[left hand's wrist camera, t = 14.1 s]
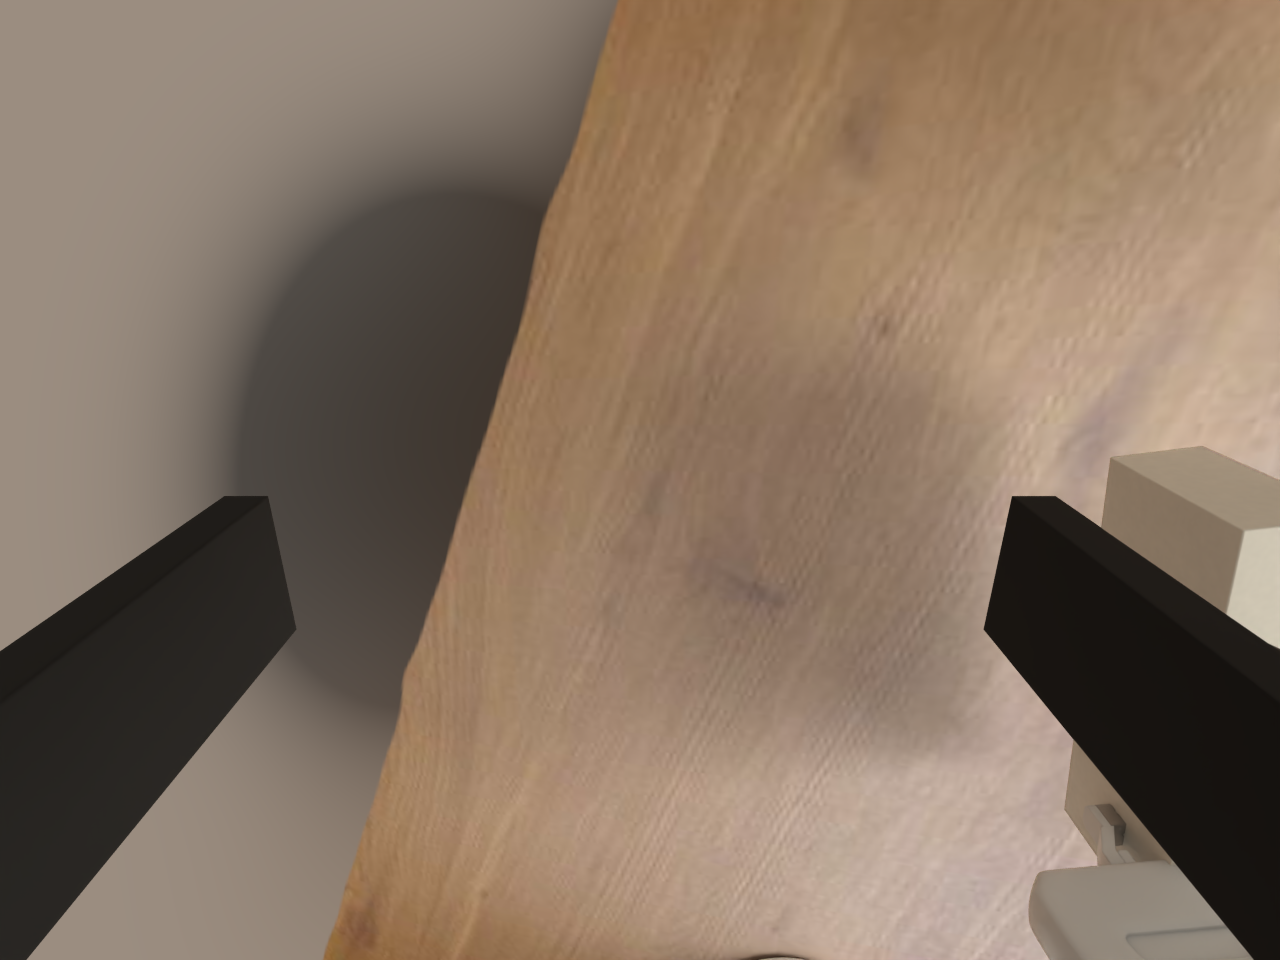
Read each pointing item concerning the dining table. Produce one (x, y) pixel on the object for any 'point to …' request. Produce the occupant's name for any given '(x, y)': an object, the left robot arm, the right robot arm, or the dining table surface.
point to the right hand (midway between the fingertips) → (1147, 806)
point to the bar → (1189, 569)
